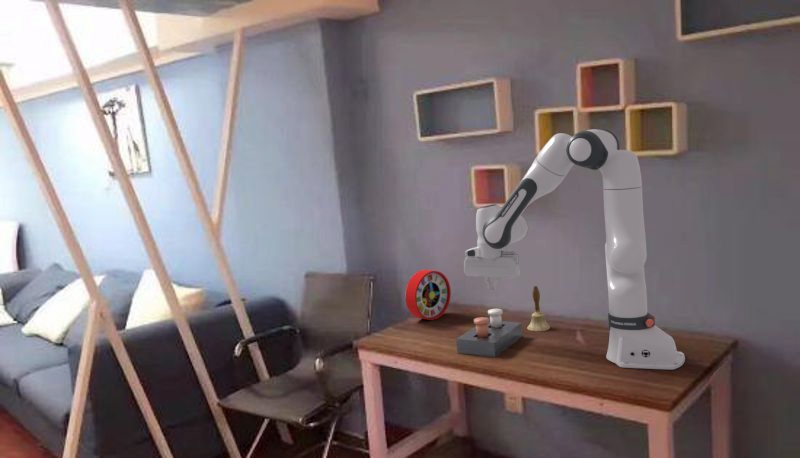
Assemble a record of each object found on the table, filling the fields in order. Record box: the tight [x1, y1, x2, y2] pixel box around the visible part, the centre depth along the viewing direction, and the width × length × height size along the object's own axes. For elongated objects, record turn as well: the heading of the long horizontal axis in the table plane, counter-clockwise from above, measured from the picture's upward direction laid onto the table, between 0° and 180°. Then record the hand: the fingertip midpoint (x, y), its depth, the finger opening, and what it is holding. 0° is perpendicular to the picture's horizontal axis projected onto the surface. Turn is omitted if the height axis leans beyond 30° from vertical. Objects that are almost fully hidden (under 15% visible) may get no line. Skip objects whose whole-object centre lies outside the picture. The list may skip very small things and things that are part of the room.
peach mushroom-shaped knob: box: [473, 316, 490, 338], centre depth 219 cm, size 5×5×6 cm
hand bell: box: [527, 285, 551, 333], centre depth 236 cm, size 8×8×16 cm
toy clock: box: [404, 269, 452, 321], centre depth 263 cm, size 20×6×20 cm, turn 131°
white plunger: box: [487, 308, 504, 328], centre depth 228 cm, size 5×5×6 cm
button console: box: [455, 319, 523, 358], centre depth 224 cm, size 14×23×5 cm, turn 147°
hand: (492, 289), depth 226 cm, fingers closed
